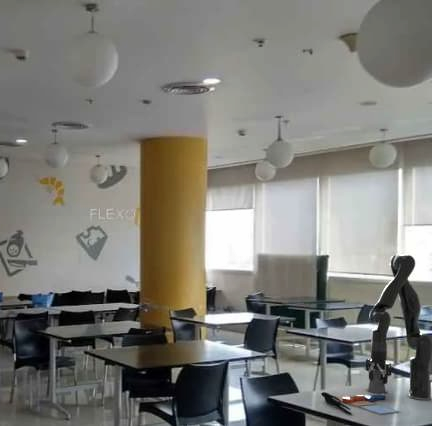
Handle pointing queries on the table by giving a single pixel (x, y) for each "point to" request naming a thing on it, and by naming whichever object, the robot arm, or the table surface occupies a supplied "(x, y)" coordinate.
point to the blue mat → (379, 409)
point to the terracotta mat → (359, 403)
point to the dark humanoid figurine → (335, 402)
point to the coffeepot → (377, 383)
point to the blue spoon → (374, 397)
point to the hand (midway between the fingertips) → (377, 381)
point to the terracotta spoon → (353, 398)
